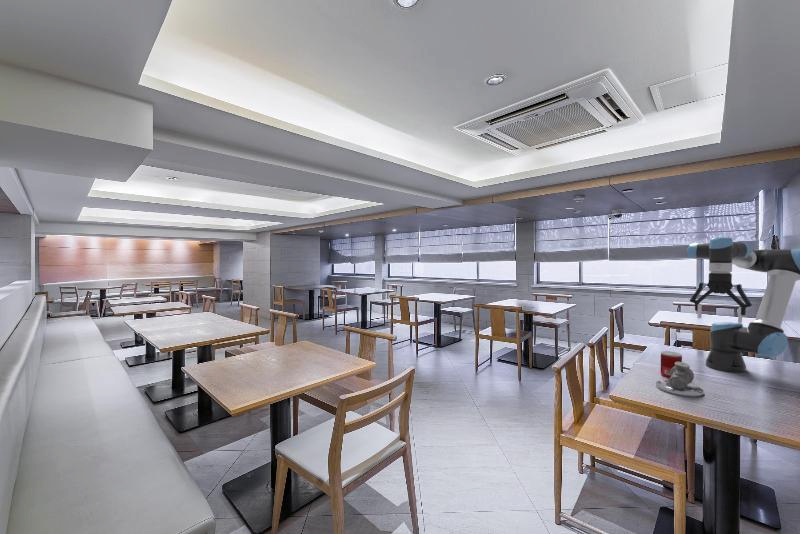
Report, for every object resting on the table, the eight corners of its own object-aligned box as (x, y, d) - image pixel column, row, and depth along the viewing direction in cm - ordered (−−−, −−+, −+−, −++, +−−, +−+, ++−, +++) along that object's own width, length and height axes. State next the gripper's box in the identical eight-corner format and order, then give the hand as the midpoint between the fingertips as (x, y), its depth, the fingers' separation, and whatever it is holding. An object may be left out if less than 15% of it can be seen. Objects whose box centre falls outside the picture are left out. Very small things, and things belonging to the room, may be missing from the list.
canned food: (685, 379, 162) (685, 356, 162) (665, 378, 164) (666, 355, 164) (675, 373, 170) (676, 351, 169) (657, 372, 171) (657, 350, 171)
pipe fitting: (670, 378, 158) (672, 357, 156) (693, 385, 152) (695, 363, 150) (664, 389, 150) (666, 366, 148) (688, 396, 144) (690, 372, 142)
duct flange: (663, 380, 162) (663, 376, 162) (708, 390, 149) (708, 387, 149) (649, 388, 152) (649, 384, 152) (696, 400, 139) (696, 396, 139)
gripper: (682, 271, 162) (681, 317, 163) (758, 274, 142) (756, 325, 143) (687, 271, 167) (686, 315, 167) (762, 273, 146) (760, 323, 147)
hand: (719, 320), depth 155 cm, fingers open, 13 cm apart
